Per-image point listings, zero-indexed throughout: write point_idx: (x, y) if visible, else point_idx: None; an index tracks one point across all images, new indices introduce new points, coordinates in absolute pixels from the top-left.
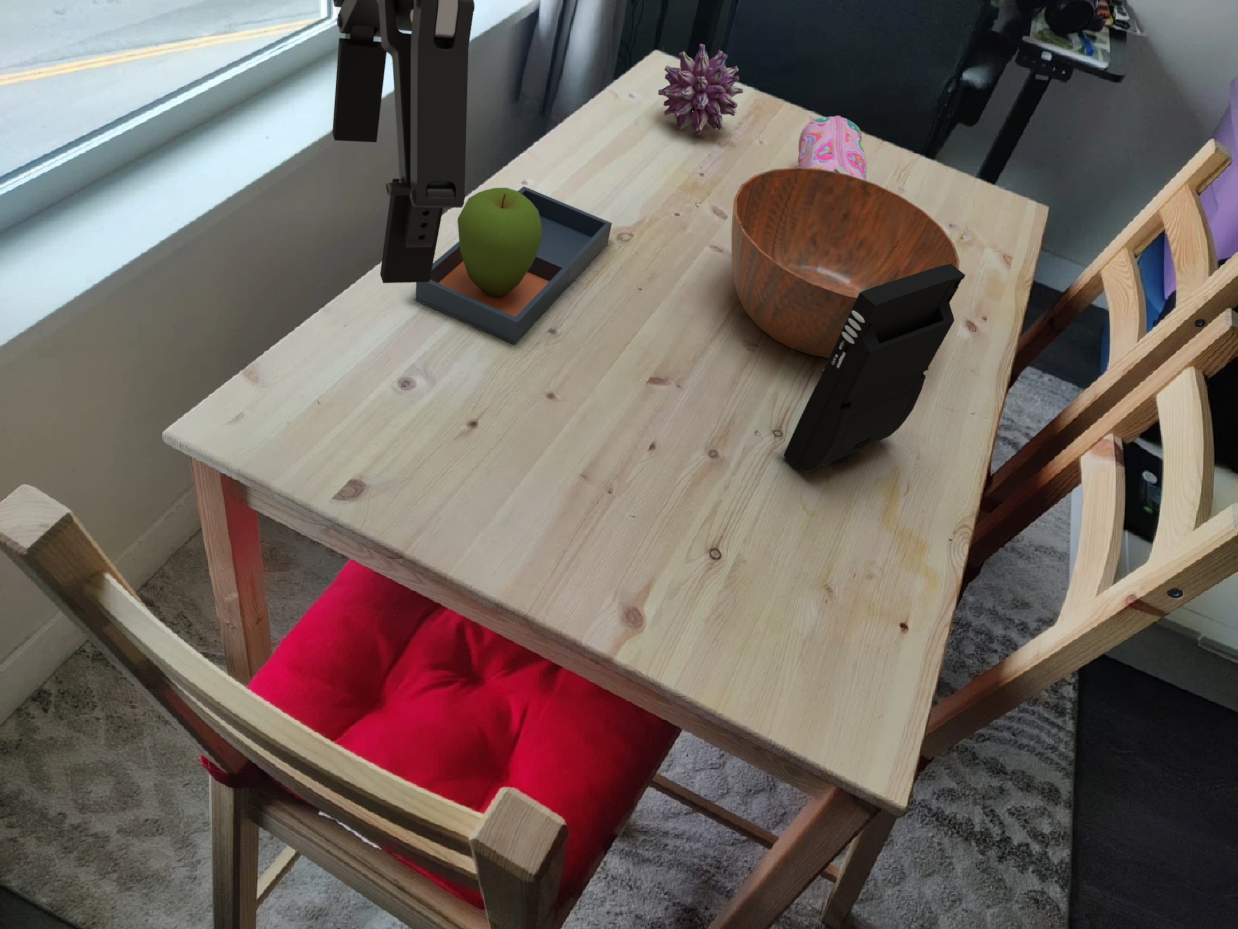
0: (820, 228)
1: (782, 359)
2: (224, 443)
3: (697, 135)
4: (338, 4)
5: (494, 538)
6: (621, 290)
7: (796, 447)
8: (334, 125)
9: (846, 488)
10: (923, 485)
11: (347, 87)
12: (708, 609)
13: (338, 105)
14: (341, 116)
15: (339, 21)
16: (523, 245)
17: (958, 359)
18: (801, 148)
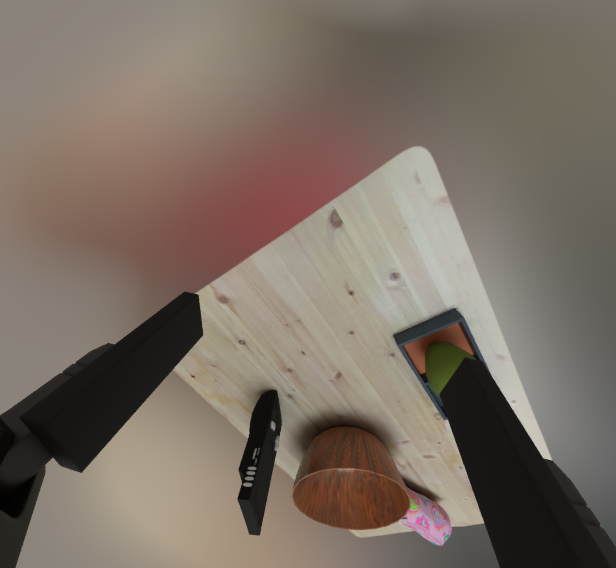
0: (379, 485)
1: (327, 421)
2: (401, 164)
3: None
4: None
5: (280, 269)
6: (402, 394)
7: (270, 398)
8: (481, 374)
9: (254, 398)
10: (246, 419)
11: (505, 457)
12: (218, 325)
13: (492, 411)
14: (479, 396)
15: None
16: (431, 381)
17: (298, 467)
18: (439, 513)
